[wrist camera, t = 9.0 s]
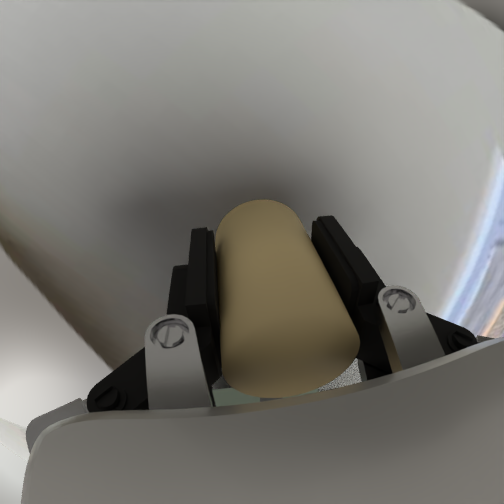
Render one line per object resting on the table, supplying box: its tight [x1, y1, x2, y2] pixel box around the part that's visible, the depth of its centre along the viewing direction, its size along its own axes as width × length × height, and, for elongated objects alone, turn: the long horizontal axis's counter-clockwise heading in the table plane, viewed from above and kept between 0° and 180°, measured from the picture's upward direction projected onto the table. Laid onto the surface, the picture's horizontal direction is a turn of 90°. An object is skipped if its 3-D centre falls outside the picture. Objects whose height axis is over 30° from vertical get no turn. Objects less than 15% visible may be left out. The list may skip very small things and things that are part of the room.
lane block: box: [213, 199, 360, 407], centre depth 14 cm, size 20×7×6 cm, turn 2°
